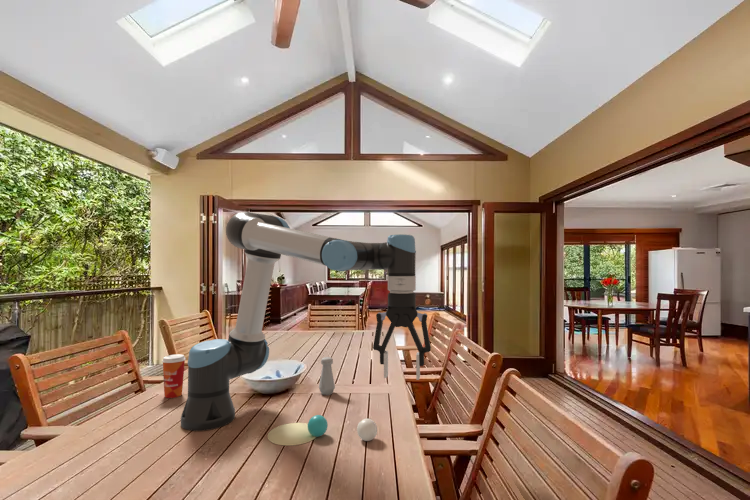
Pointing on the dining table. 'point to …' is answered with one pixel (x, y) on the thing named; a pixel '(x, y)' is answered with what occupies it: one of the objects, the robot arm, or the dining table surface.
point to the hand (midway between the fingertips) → (401, 377)
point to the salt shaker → (326, 377)
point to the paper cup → (173, 375)
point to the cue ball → (367, 429)
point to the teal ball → (317, 425)
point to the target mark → (290, 434)
